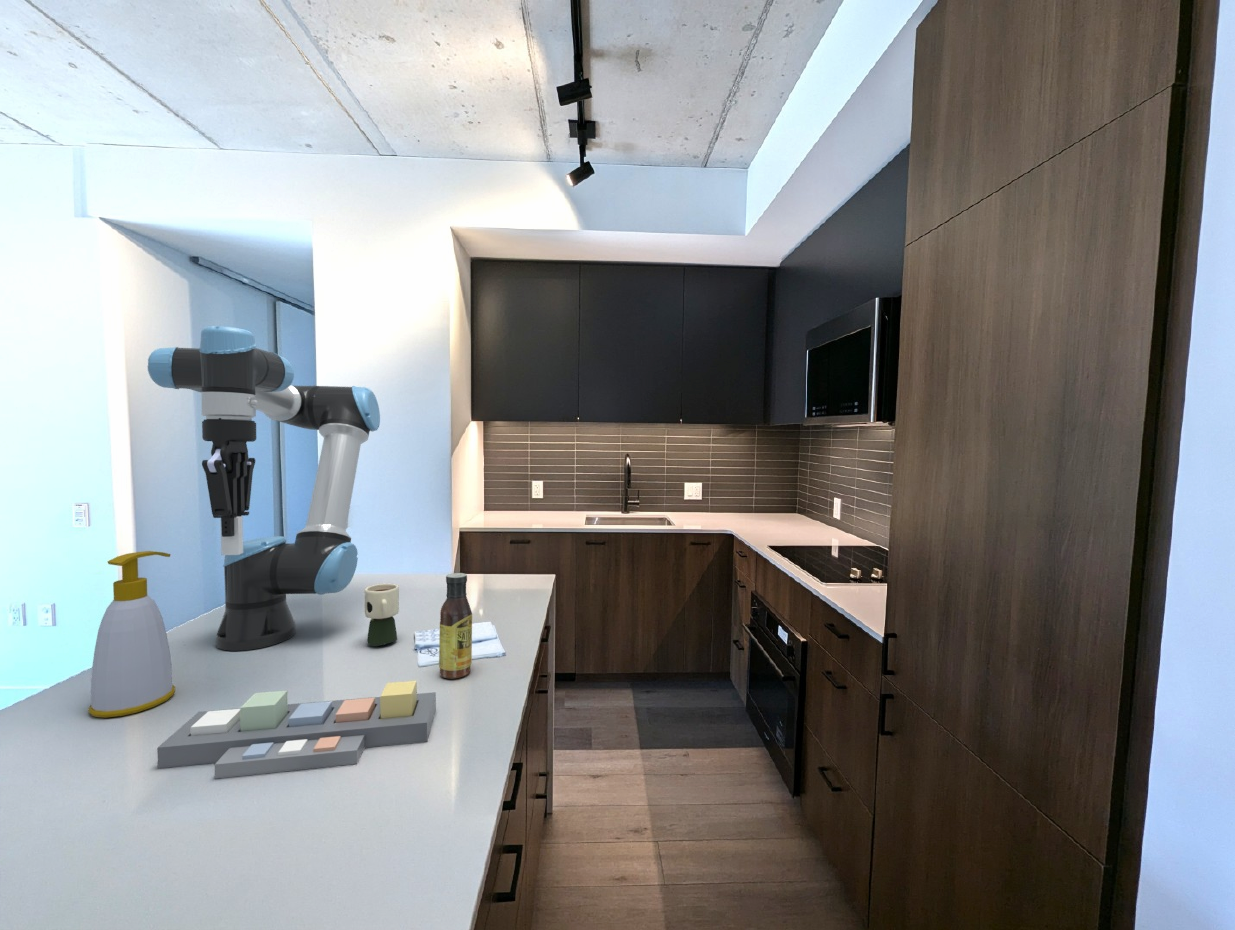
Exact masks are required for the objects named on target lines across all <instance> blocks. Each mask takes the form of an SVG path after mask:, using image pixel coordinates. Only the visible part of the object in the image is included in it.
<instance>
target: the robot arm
mask: <svg viewBox="0 0 1235 930" xmlns="http://www.w3.org/2000/svg"><path fill="white" fill-rule="evenodd" d="M147 372H148V375H149V377H150V379H151V380H152V381H153V382H154V383H155V384H156V385H157V386H159V387H161V388H165V389H166V388H167V389H173V390H179V389H186V390H191V391H195V392H197V393H201V415H202V416H203V417H205V419H203V420H202V421H201V428H202V429H201V431H202V432H201V433H202V434H201V435H202V436H201V437H202V440H203V441H205V442H212V446H211V450H210V456H211V457H210V459H202V461H201V466H202V469H203V471H204V473H205V479H206V483H207V484H206V485H207V490H208V497H209V503H210V508H211V515H212V518H214V519H220V547H221V548H220V549H221V550H220V552H221V553H220V555H221V556H224V561H223V565H222V567H223V570H224V574H223V575H224V600H225V601H224V603H225V606H224V607H225V611H224V613H223V616H222V619H221V622H220V624H219V627H218V630H217V633H216V636H215V643H216V644H215V645H216V648H217V649H220V650H223V651H229V652H234V651H235V652H236V651H238V652H239V651H250V650H257V649H261V648H266V647H271V646H274V645H277V644H280V643H282V642H285V641H287V640H289V639H291V638H292V637H293V636H294V635H296V622H295V620H294V616H293V614H292V613H291V610H290V608H289V605H288V603H287V595H304V594H305V595H308V594H309V595H316V594H317V595H320V596H321V595H322V596H323V595H325V594H336V593H340V592H342V591H344V590H345V589H346V588H347V586H348V585H349V584H350V583H351V582H352V580H353V578H354V576H355V573H356V569H357V566H358V558H359V557H358V555H359V554H358V548H357V546H356V545H355V544H354V543H352V536H350V535H349V533H348V532H347V525H348V519H349V514H350V508H351V503H352V497H353V490H354V485H355V479H356V473H357V469H358V468H357V467H358V462H359V456H360V451H361V444H363V443H366V442H367V441H368V440H369V436H370V432H375V431H378V430H379V428H380V425H381V413H380V407H379V401H378V400H377V396H376V394H375V393H374V392H373V391H372V390H371V389H370V388H369V387H365V386H363V387H361V386H355V385H352V386H335V385H334V386H329V385H292V383H293V381H294V378H295V371H294V367H293V365H292V363H291V362H290V361H289V360H288V359H287V358H285V357H283V356H281V355H279V354H278V353H275V352H273V351H267V350H263V349H261V348H257V345H256V341H255V335H254V334H253V332H251V331H249V330H247V329H243V328H238V327H234V326H223V325H222V326H221V325H212V326H211V325H208V326H206V327H204V328H203V329H202V330H201V331H200V343H199V348H197V347H196V348H195V347H191V348H190V347H179V346H174V347H162V348H157V349H154V350H153V351H152V352H151V353H150V354H149V356H148V359H147ZM257 411H258V412H261V413H263V414H264V415H265V416H266V417H267V418H269V419H271V420H273V421H276V422H280V423H282V424H286V425H290V426H293V427H297V428H301V429H306V430H315V431H318V433H319V434H320V436H322V438H323V441H322V445H321V446H322V447H321V449H320V450H321V451H320V456H319V461H318V465H317V469H316V475H315V480H314V484H313V490H312V494H311V499H310V500H311V501H310V505H309V509H308V514H307V519H306V524H305V527H304V528H303V529H301V530H299V531H298V532H297V533H296V536H295V540H294V542H293V543H292V542H291V543H287V539H286V538H285V536H283V535H282V536H280V535H277V536H267V537H262V538H256V539H251V540H250V539H249V540H245V541H244V532H243V531H244V530H243V521H244V520H243V518H244V517H243V516H247V517H248V516H249V514H250V506H251V505H250V504H251V496H252V495H251V494H252V486H253V483H252V482H253V473H254V468H255V464H256V458H255V457H249V449H248V445H247V443H248V442H255V441H257V422H256V421H254V420H252V418H256V412H257Z"/></svg>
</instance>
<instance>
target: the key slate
mask: <svg viewBox="0 0 1235 930" xmlns="http://www.w3.org/2000/svg"><path fill="white" fill-rule="evenodd" d="M327 701H328V702H323V701H315V702H316V703H310V702H303V703H304V704H300V705H299V706H298V708H297V709H296V710H295V712H294V713H293V714H292V715H291V717H290V718H289V727H298V726H309V725H320V724H324V723H325V721H326V720H327V718H328V717H329V715H330V714H331V712H332V701H333V700H327Z"/></svg>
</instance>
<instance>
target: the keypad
mask: <svg viewBox="0 0 1235 930" xmlns="http://www.w3.org/2000/svg"><path fill="white" fill-rule="evenodd" d="M365 698H366V697H362V698H360V697H359V698H358V699H365ZM370 698H375V709H374V711H373V713H372V715H371V717H370V719H369V720H365V721H354V722H342V723H336V717H335V715H336V713H337V711H338V710H339V708H340V707H341V705H342V704H343V702H344V700H345V699H338V700H331V701H332V712H331V714H330V715H329V717H328V718H327V720H326V721H325V723H324V724H320V725H309V726H298V727H289V718H290V717H291V715H292V714H293V713H294V712H295V710H296V709H297V708H298V706H299V705H300V704H304V703H305V702H301V703H290V704H289V703H288V715H287V716H286V717H285V718H284V720H283V721H282V722H281V723H280V725H279V726H278V727H277V728H276V729H265V730H254V731H243V732H241V720H239V721H238V723H237V724H236V725H235V726H234V727H233V728H232V729H231V730H230V731H229V732H228V733H221V734H209V735H198V736H191V726H193V725H194V724H195V723H196V722H197V721H198V720H199V719H200V718H201V717H203V716H204V715H205V714H206V713H207V712H208V711H209V710H202V711H198V712H197V713H196V714H194V715H193V716H192V717H191V718H189V719H188V720H187V721H186V722H185V723H184V724H182V726H181V727H179V728H178V729H176V731H175V732H174V733H172V734H171V735H170V736H169V737H168V738H166V739H165V740H164V741H163V742H162V743H160V744H159V746H158V747H157V750H156V751H157V752H156V753H157V769H165V768H177V767H185V766H194V765H195V766H196V765H206V764H207V765H209V764H214V780H218V779H225V778H226V779H227V778H234V777H244V776H251V775H252V776H253V775H264V774H265V775H266V774H271V773H272V774H274V773H275V774H276V773H283V772H290V771H303V770H310V769H311V770H312V769H321V768H329V767H338V766H349V765H357V764H358V763H359V760H360V758H361V756H362V754H363V751H365V749H366V748H374V747H375V748H376V747H377V748H378V747H384V746H385V747H386V746H394V745H395V746H396V745H406V744H407V745H409V744H414V743H426V742H428V739H429V735H430V732H431V729H432V726H433V725H432V724H433V722H434V718H435V714H436V710H437V692H436V691H434V692H422V693H417V705H416V708H415V710H414V713H413V716H409V717H398V718H387V719H381V696H373V697H371V696H370ZM352 699H353V698H350V699H349V698H346V700H352ZM328 701H329V700H326V701H322V702H328ZM316 702H317V701H312V702H311V701H310V702H309V703H316ZM240 708H241V707H239V708H238V707H237V708H236V709H240ZM231 709H232V708H228V709H224V710H231ZM219 710H220V709H217V710H215V709H214V710H212V711H219Z"/></svg>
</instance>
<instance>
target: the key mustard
mask: <svg viewBox="0 0 1235 930" xmlns="http://www.w3.org/2000/svg"><path fill="white" fill-rule="evenodd" d="M417 684H418V683H417V680H409V681H408V680H407V681H396V682H393V681H392V682H386V685H385V686H384V689H383V691H382V692H381V695H380V697H381V719H387V718H398V717H409V716H413V713H414V710H415V708H416V705H417V694H418V693H417V692H418V691H417V689H418V687H417Z"/></svg>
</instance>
